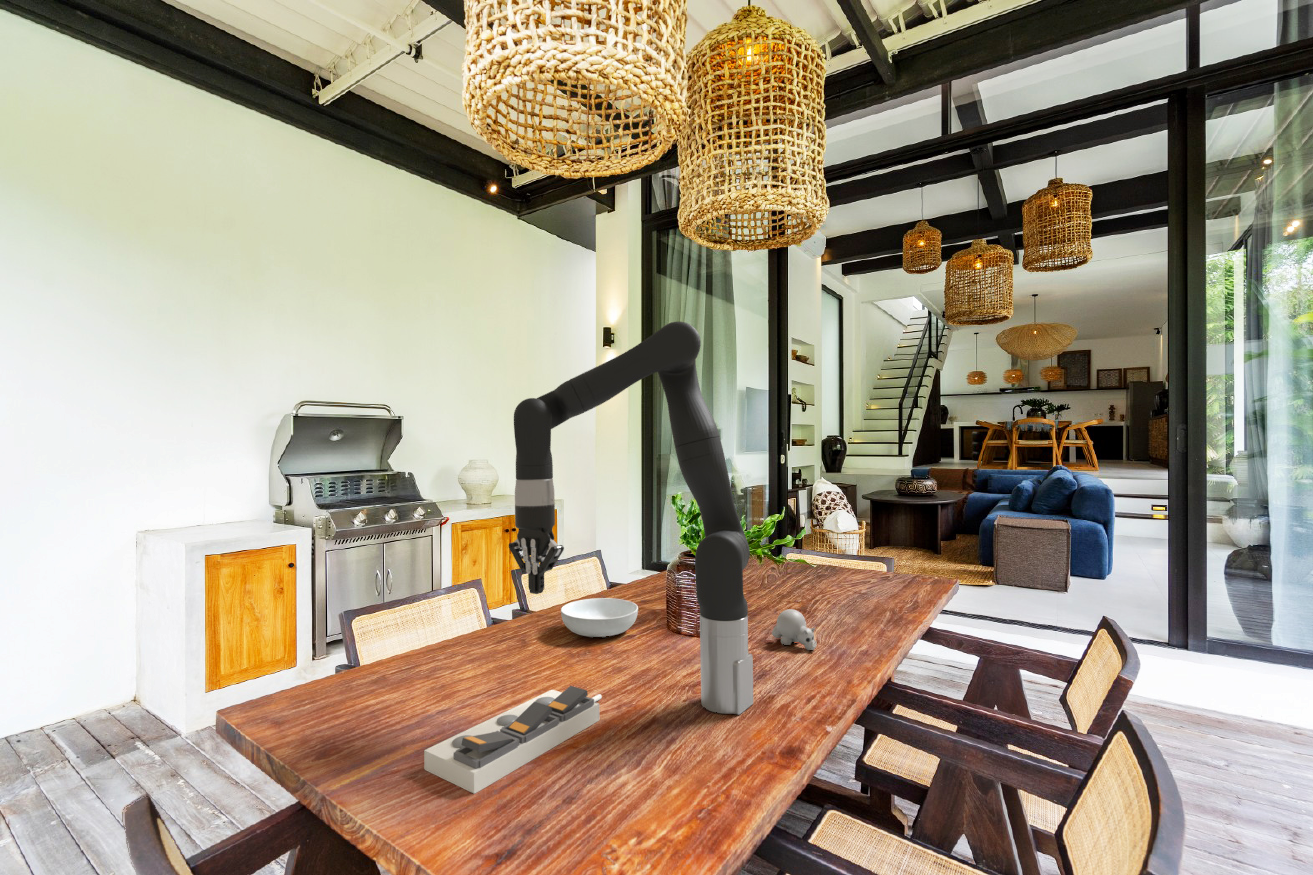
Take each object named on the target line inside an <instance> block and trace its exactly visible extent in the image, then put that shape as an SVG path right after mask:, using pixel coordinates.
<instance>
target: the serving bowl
mask: <svg viewBox="0 0 1313 875" xmlns="http://www.w3.org/2000/svg"><path fill="white" fill-rule="evenodd" d="M638 614H639V606H638V604H636V603H635V602H633V601H630V600H626V599H622V598H614V597H607V598H606V597H595V598H594V597H593V598H585V599H580V600H573V601H571V602H569V603H566V604H564V605H563V606H562V607H561V608H560V615H561V619H562V623H563V624H564V625H565V627H566V628H567V629H568V630H570V631H571V632H572V633H574V634H577V635H579V636H582V637H583V636H584V637H589V638H593V637H602V638H607V637H606V636H609V637H612V636H615V635H619V634H622V633H624V632H626V631H627V630H629V629H630V628H631V627H632V626H633V625H634V624H635V622H636V620H637V617H638Z"/></svg>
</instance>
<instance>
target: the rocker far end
mask: <svg viewBox="0 0 1313 875" xmlns="http://www.w3.org/2000/svg"><path fill="white" fill-rule="evenodd" d="M511 742H512V738H509V737H507V736H504V735H501V734H499V733H496V732H493V733H487V734H482V735H476V736H470V737H465V738H463V739H462V746H465V747H467V748H470V749H472V750H474V751H477V752H483V751H487V750H492V749H497V748H501V747H504V746H506V745H507V744H509V743H511Z"/></svg>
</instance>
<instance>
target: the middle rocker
mask: <svg viewBox="0 0 1313 875" xmlns="http://www.w3.org/2000/svg"><path fill="white" fill-rule="evenodd" d="M551 713H552V709H551V707H550V706H547V705H543V704H540V703H537V702H533V703H532V704H531V705H530V706H529V707H528V708H527V709H526V710H525V711H524V712H523V713H522V714H521V715H520V716H519V717H518V718H517V719H516V720H515V721H514V722H513V723H512V724H511V725H510V726H509V727H508V730H510V731H513V732H516V733H518V734H521V735H526V734H528V733H530V732H532V731H534V730H535V729H536V728H537V727H538V726H539V725H540V724H541V723H542V722H543V721H544V720H545V719H546V718H547V717H548V716H549V715H550V714H551Z"/></svg>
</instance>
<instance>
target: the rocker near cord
mask: <svg viewBox="0 0 1313 875" xmlns="http://www.w3.org/2000/svg"><path fill="white" fill-rule="evenodd" d="M585 697H589V694H588V689H587V690H586V689H583V688H581V687H577V686H573V685H569V687H567V688H566V689H565V690H564V691H563V692H562V693H561V694H560V695H559V696H558V697H557V698H556V699H554V700H553V701H552V702H551V703H550V704H549V705H547V706H550V707H551V709H552V711H554V712H557V713H560V714H565V713H567V712H569V711H571V710H572V709H573V708H574V707H575V706H577V705H578V704H579V703H580V702H581V701H582V700H583V699H584V698H585Z"/></svg>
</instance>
